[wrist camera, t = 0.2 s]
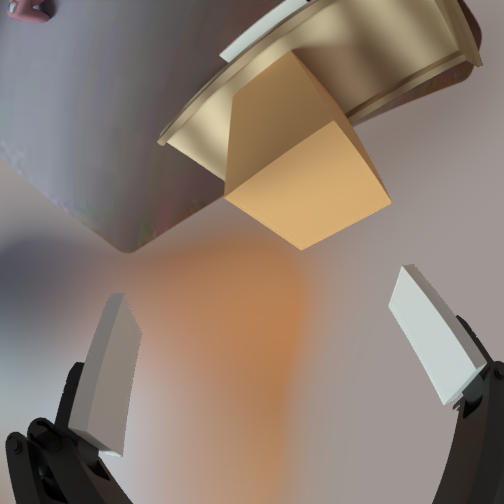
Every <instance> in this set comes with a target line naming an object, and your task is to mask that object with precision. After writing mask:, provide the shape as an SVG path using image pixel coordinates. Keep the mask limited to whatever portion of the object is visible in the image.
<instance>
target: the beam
mask: <svg viewBox="0 0 504 504" xmlns="http://www.w3.org/2000/svg"><path fill="white" fill-rule="evenodd" d="M290 50H291V51H292V52H293V53H294V54H295V55H296V56H297V57H298V58H299V59H300V61H301V62H302V63H303V64H304V65H305V66H306V67H307V68H308V69H309V70H310V71H311V72H312V74H313V75H314V76H315V77H316V78H317V79H318V80H319V82H320V83H321V84H322V85H323V86H324V87H325V89H326V90H327V91H328V92H329V93H330V95H331V96H332V97H333V98H334V100H335V101H336V102H337V104H338V105H339V107H340V108H341V110H342V111H343V113H344V114H345V116H346V118H347V119H348V121H349V122H350V124H352V123H354V122H356V121H357V120H359V119H360V118H362V117H364V116H365V115H367V114H369V113H370V112H372V111H374V110H375V109H377V108H379V107H380V106H382V105H384V104H386V103H387V102H389V101H391V100H392V99H394V98H396V97H398V96H399V95H401V94H403V93H405V92H406V91H408V90H410V89H412V88H414V87H415V86H417V85H419V84H421V83H423V82H425V81H426V80H428V79H430V78H432V77H434V76H436V75H438V74H440V73H441V72H443V71H445V70H447V69H449V68H451V67H453V66H455V65H457V64H459V63H461V62H463V61H465V60H467V61H469V62H471V63H472V64H474V65H475V66H477V67H479V66H482V65H483V64H482V61H481V57H480V54H479V51H478V49H477V46H476V43H475V40H474V38H473V35H472V33H471V30H470V28H469V25H468V23H467V21H466V19H465V16H464V14H463V12H462V10H461V8H460V6H459V4H458V2H457V0H311V1H310V2H308V3H306V4H305V5H303V6H302V7H300V8H299V9H297V10H296V11H294V12H293V13H291V14H290V15H288V16H287V17H286V18H284V19H283V20H281V21H280V22H279V23H277V24H276V25H274V26H273V27H272V28H270V29H269V30H268V31H266V32H265V33H264V34H263V35H261V36H260V37H259V38H257V39H256V40H255V41H254V42H253V43H251V44H250V45H249V46H248V47H246V48H245V49H244V50H243V51H242V52H240V53H239V54H238V55H237V56H236V57H235V58H234V59H232V60H231V61H230V62H229V63H228V64H227V65H226V66H225V67H224V68H222V69H221V70H220V71H219V72H218V73H217V74H216V75H215V76H214V77H213V78H212V79H211V80H210V81H209V82H208V83H207V84H206V85H205V86H204V87H203V88H202V89H201V90H200V91H199V92H198V93H197V94H196V95H195V96H194V97H193V98H192V99H191V100H190V101H189V102H188V103H187V104H186V105H185V106H184V107H183V108H182V109H181V110H180V112H179V113H178V114H177V115H176V116H175V117H174V118H173V119H172V120H171V122H170V123H169V124H168V125H167V126H166V127H165V128H164V130H163V131H162V132H161V135H160V137H159V139H158V141H157V143H159V144H160V145H162V146H164V145H165V144H166V142H167V143H169V144H171V145H172V146H174V147H175V148H177V149H178V150H180V151H181V152H183V153H184V154H186V155H187V156H189V157H190V158H192V159H193V160H195V161H196V162H198V163H199V164H201V165H202V166H203V167H205V168H206V169H208V170H209V171H211V172H212V173H214V174H215V175H217V176H218V177H220V178H221V179H222V180H224V181H225V178H226V165H227V153H228V141H229V130H230V119H231V109H232V99H233V95H235V94H236V93H237V92H238V91H239V90H240V89H241V88H243V87H244V86H245V85H246V84H247V83H249V82H250V81H251V80H252V79H253V78H255V77H256V76H257V75H258V74H259V73H261V72H262V71H263V70H264V69H266V68H267V67H268V66H270V65H271V64H272V63H273V62H275V61H276V60H277V59H279V58H280V57H281V56H283V55H284V54H285V53H287V52H288V51H290Z"/></svg>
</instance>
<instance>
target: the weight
mask: <svg viewBox="0 0 504 504" xmlns="http://www.w3.org/2000/svg"><path fill="white" fill-rule="evenodd" d="M224 198H225V199H226V200H228V201H229V202H231V203H232V204H234V205H236V206H237V207H239V208H240V209H242V210H243V211H244V212H246V213H247V214H249V215H250V216H252V217H253V218H255V219H256V220H258V221H260V222H261V223H262V224H264V225H265V226H267V227H268V228H270V229H271V230H272V231H274V232H275V233H277V234H278V235H280V236H281V237H283V238H284V239H286V240H287V241H289V242H290V243H291V244H293V245H294V246H296V247H297V248H299V249H300V250H303V249H305V248H307V247H309V246H311V245H313V244H315V243H317V242H319V241H321V240H323V239H325V238H326V237H328V236H330V235H332V234H334V233H336V232H338V231H340V230H342V229H344V228H346V227H347V226H350V225H351V224H353V223H355V222H357V221H359V220H361V219H363V218H365V217H367V216H368V215H370V214H372V213H374V212H376V211H378V210H380V209H382V208H384V207H385V206H387V205H389V204H391V203H392V201H391V199H390V197H389V195H388V193H387V191H386V189H385V187H384V185H383V182H382V180H381V178H380V177H379V174H378V172H377V170H376V169H375V167H374V165H373V163H372V161H371V159H370V157H369V155H368V153H367V152H366V150H365V148H364V146H363V144H362V143H361V141H360V139H359V138H358V136H357V134H356V132H355V131H354V129H353V127H352V126H351V124H350V122H349V121H348V119H347V118H346V116H345V114H344V113H343V111H342V110H341V108H340V107H339V105H338V104H337V102H336V101H335V100H334V98H333V97H332V96H331V95H330V93H329V92H328V91H327V90H326V89H325V87H324V86H323V85H322V84H321V83H320V82H319V80H318V79H317V78H316V77H315V76H314V75H313V74H312V72H311V71H310V70H309V69H308V68H307V67H306V66H305V65H304V64H303V63H302V62H301V61H300V59H299V58H298V57H297V56H296V55H295V54H294V53H293V52H292V51H291V50H290V51H288V52H287V53H285V54H284V55H283V56H281V57H280V58H279V59H277V60H276V61H275V62H273V63H272V64H271V65H270V66H268V67H267V68H266V69H264V70H263V71H262V72H261V73H259V74H258V75H257V76H256V77H255V78H253V79H252V80H251V81H250V82H249V83H247V84H246V85H245V86H244V87H243V88H241V89H240V90H239V91H238V92H237V93H236V94H235V95H233V99H232V109H231V119H230V130H229V141H228V153H227V165H226V178H225V191H224Z"/></svg>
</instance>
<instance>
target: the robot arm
mask: <svg viewBox="0 0 504 504" xmlns="http://www.w3.org/2000/svg"><path fill="white" fill-rule="evenodd" d="M388 307H389V308H390V310H391V312H392V313H393V315H394V316H395V318H396V320H397V321H398V323H399V325H400V326H401V328H402V329H403V331H404V333H405V335H406V336H407V338H408V339H409V341H410V343H411V345H412V347H413V348H414V350H415V352H416V354H417V355H418V357H419V359H420V361H421V363H422V364H423V366H424V368H425V370H426V372H427V374H428V376H429V378H430V379H431V381H432V383H433V385H434V387H435V389H436V391H437V393H438V395H439V397H440V399H441V401H442V403H443V405H445V404H446V403H448V402H450V401H452V400H454V399H455V398H456V397H457V396H458V395H459V394H460V393H461V392H462V393H463V395H464V396H463V397H462V398H461V399H460V400H459V401H458V402H457V403H456V404H455V405H454V406H453V409H455V408H456V407H457V406H459V405H460V407H458V409H457V411H459V414H458V419H457V424H456V429H455V434H454V438H453V442H452V446H451V450H450V453H449V457H448V460H447V464H446V467H445V470H444V473H443V476H442V479H441V482H440V485H439V488H438V490H437V493H436V495H435V498H434V500H433V503H432V504H504V363H503V362H501V361H495V362H494V361H493V360H492V358H491V357H490V356H489V354H488V352H487V351H486V349H485V348H484V346H483V345H482V343H481V342H480V340H479V339H478V338H477V337H476V335H475V333H474V332H473V331H472V329H471V328H470V326H469V325H468V324H467V322H466V321H465V320H464V319H462V318H461V317H460V316H458V315H457V316H455V315H454V314H453V312H452V311H451V310H450V308H449V307H448V306H447V304H446V303H445V302H444V301H443V299H442V298H441V297H440V296H439V294H438V293H437V292H436V290H435V289H434V288H433V287H432V286H431V284H430V283H429V282H428V281H427V280H426V278H425V277H424V276H423V275H422V274H421V272H420V271H419V270H418V269H417V268H416V267H415V265H414V264H410V265H403V266H402V267H401V271H400V274H399V277H398V280H397V283H396V286H395V289H394V291H393V294H392V297H391V300H390V303H389V305H388ZM141 336H142V333H141V330H140V328H139V325H138V323H137V321H136V319H135V316H134V314H133V312H132V309H131V307H130V304H129V302H128V300H127V297H126V294H125V293H110V295H109V297H108V300H107V302H106V305H105V307H104V310H103V313H102V315H101V318H100V320H99V323H98V326H97V329H96V331H95V334H94V337H93V340H92V343H91V346H90V349H89V352H88V355H87V358H86V361H85V363H82V362H76V363H75V364H74V366H73V367H72V368H71V370H70V371H69V374H68V377H67V380H66V385H65V387H64V390H63V392H64V393H63V394H62V397H61V401H60V404H59V408H58V412H57V416H56V420H55V423H54V424H53V423H52V422H50V421H49V420H47V419H46V418H41V417H40V418H37V419H34V420H33V421H32V422H31V423H30V425H29V427H28V431H27V437H25V436H24V435H22V434H21V433H19V432H12V433H10V435H9V436H8V437H7V440H6V447H5V448H6V455H7V462H8V468H9V474H10V479H11V483H12V488H13V492H14V496H15V500H16V504H133V503H132V502H131V501H130V499H129V498H128V497H127V495H126V494H125V493H124V491H123V490H122V489H121V487H120V486H119V485H118V483H117V482H116V481H115V479H114V478H113V476H112V475H111V473H110V472H109V470H108V469H107V467H106V466H105V464H104V463H103V461H102V459H101V458H100V457H99V456H98V452H99V450H100V451H102V452H103V453H105V454H109V455H115V456H120V457H122V456H123V448H124V439H125V438H124V437H125V430H126V422H127V414H128V407H129V401H130V393H131V388H132V382H133V377H134V371H135V366H136V360H137V355H138V351H139V346H140V340H141Z"/></svg>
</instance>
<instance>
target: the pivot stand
mask: <svg viewBox="0 0 504 504" xmlns="http://www.w3.org/2000/svg"><path fill="white" fill-rule="evenodd" d="M306 3H308V2H307V1H306V0H284V1H283V2H281V3H280V4H279V5H277V6H276V7H275V8H273V9H272V10H271V11H269V12H268V13H267V14H265V15H264V16H263V17H262V18H260V19H259V20H258V21H257V22H255V23H254V24H253V25H252V26H250V27H249V28H248V29H247V30H246V31H244V32H243V33H242V34H241V35H240V36H239V37H237V38H236V39H235V40H234V41H233V42H232V43H231V44H230V45H229V46H227V47H226V48H225V49H224V50H223V51H222V52H221V53H220V54H219V56H221V57H222V58H223V59H224V60H226V61H227V62H228V63H229V62H230V61H231V60H232V59H234V58H235V57H236V56H237V55H238V54H239V53H240V52H242V51H243V50H244V49H245V48H246V47H248V46H249V45H250V44H251V43H253V42H254V41H255V40H256V39H257V38H259V37H260V36H261V35H263V34H264V33H265V32H266V31H268V30H269V29H270V28H272V27H273V26H274V25H276V24H277V23H279V22H280V21H281V20H283V19H284V18H286V17H287V16H288V15H290V14H291V13H293V12H294V11H296V10H297V9H299V8H300V7H302V6H303V5H305V4H306Z"/></svg>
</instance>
